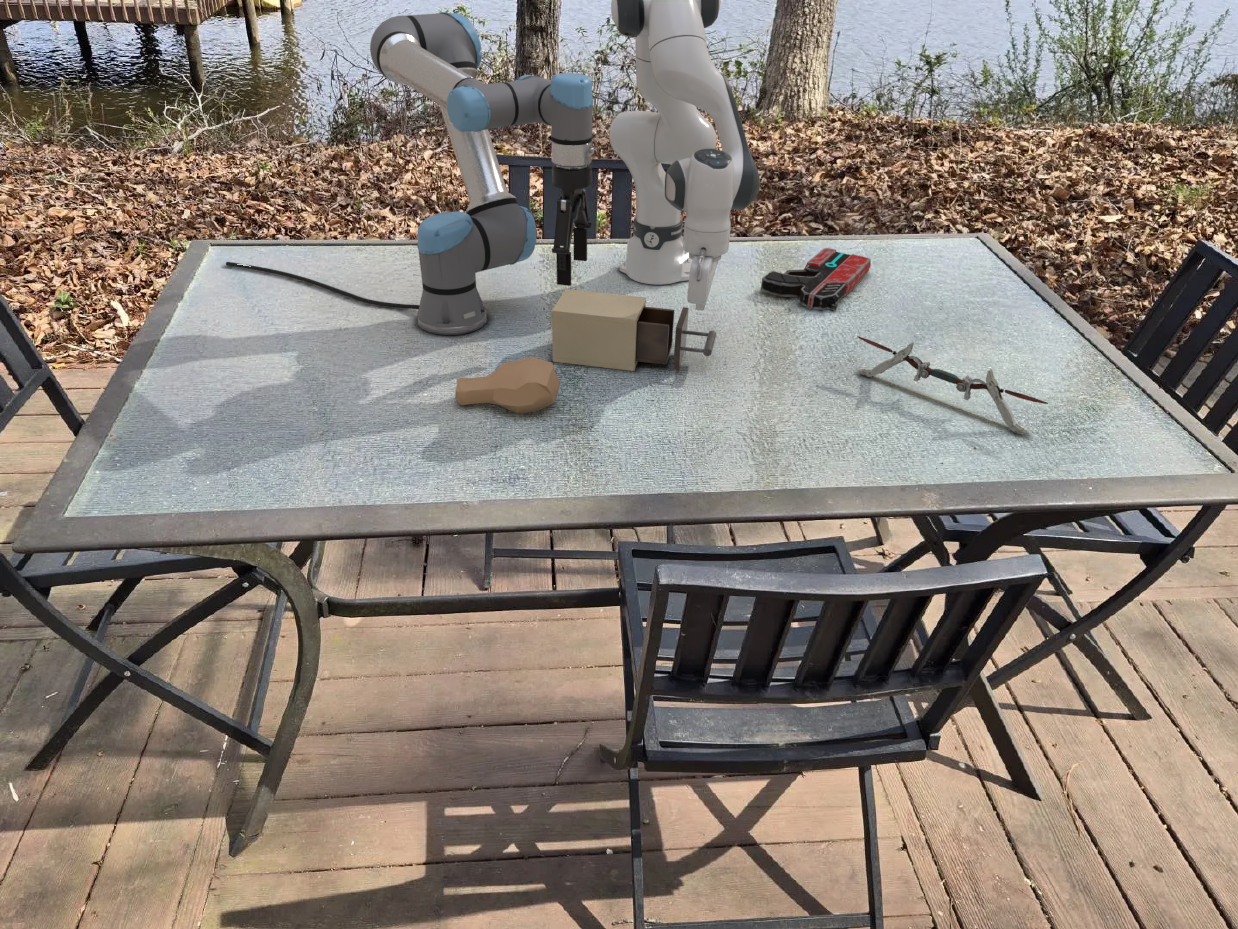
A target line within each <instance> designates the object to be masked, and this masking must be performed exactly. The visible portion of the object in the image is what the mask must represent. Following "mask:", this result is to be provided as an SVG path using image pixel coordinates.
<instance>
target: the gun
mask: <svg viewBox="0 0 1238 929" xmlns="http://www.w3.org/2000/svg"><path fill="white" fill-rule="evenodd" d="M871 260H872V259H871V258H869V257H867V256H862V255H859V254H858V255H857V254H853V253H852V254H849V253H845V252H840V251H837V249H835V248H831V247H823V248H822V249H821V250H820V251H818V253H817V254H815V255H814V256H813V257H811V258H810V259H809V260H808V261H807V262H806V264H805V267H804V269H787V270H786V271H784V273H782V272H779V271H776V270H771V271H770V272H768V273H767V274H765V275H764V276H762V277H761V285H760V291H762V292H763V293H766V294H771V295H774V296H777V297H785V298H786V297H787V298H790V297H791V298H799V299H798V302H799V303H800V304H801V306H805V307H806V308H807V309H815V310H818V311H819V310H826V309H829V310H833V311H836V310H837V309H838V304H837V303H838V302H839V301H840V300H841V299H842V298H843V297H846V296H847V295H848V294H849V293H851V291H853V290H854V289H855V288H856V287H857V286H858V284H859V283H860V282H861V281H862V280H863V278H865V276H866V275H867V274H868V273H869V271H870V269H871V266H872V261H871Z"/></svg>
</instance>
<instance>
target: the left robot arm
mask: <svg viewBox="0 0 1238 929" xmlns="http://www.w3.org/2000/svg"><path fill="white" fill-rule="evenodd" d="M369 44H370V45H369V52H370V57H371V60H372V63H373V65H374V67H375V68H376V70H377V71H378V72H379V73H380V74H381V75H382V76H384V77H385V78H386V79H387V80H389V81H391V82H392V83H395V84H398V85H406V86H408V87H410V88H411V89H413V90H415V91H416V92H418V93H419V94H421V95H423V96H425V97H426V98H428V99H429V100H431V101H432V102H434V103H436V104H437V105H439V108H440V111H441V114H442V118H443V121H444V124H445V127H446V131H447V134H448V137H449V140H450V143H451V147H452V149H453V153H454V156H455V158H456V162H457V166H458V168H459V172H460V176H461V178H462V181H463V185H464V188H465V191H466V194H467V197H468V201H469V204H468V206H467V208H466V210H465V212H464V211H457V210H455V211H454V210H453V211H443V212H438V213H436V214H432V215H429V216H427V217H426V218H424V220H422V221H421V222H420V224H419V225H418V227H417V230H416V231H417V232H416V233H417V243H416V246H417V247H416V248H417V250H418V258H419V259H418V260H419V267H420V275H421V276H420V278H421V284H422V292H421V297H420V302H419V304H409V303H408V304H406V303H397V302H396V303H395V302H387V301H379V300H374V299H369V298H367V297H366V298H365V297H362V296H359V295H357V294H355V293H350V292H348V291H345V290H343V289H339V288H337V287H334V286H331V285H329V284H326V283H323V282H320V281H317V280H313V279H311V278H307V277H305V276H301V275H298V274H293V273H290V272H287V271H281V270H277V269H273V268H267V267H262V266H258V265H257V266H256V265H251V264H248V265H249V266H251V267H249V266H243V265H237V264H240V263H239V262H238V263H237V262H232V261H226V262H225V265H226V266H229V267H234V268H239V269H240V268H241V269H245V270H246V269H247V270H251V271H258V272H264V273H269V274H274V275H278V276H281V277H282V276H283V277H287V278H290V279H295V280H297V281H301V282H305V283H308V284H311V285H314V286H316V287H319V288H322V289H325V290H328V291H331V292H333V293H337V294H339V295H341V296H345V297H347V298H351V299H353V300H356V301H357V302H362V303H365V304H369V305H373V306H378V307H379V306H380V307H385V308H396V309H406V310H408V309H409V310H417V315H416V318H417V325H418V326H419V328H420V329H421V330H423V331H424V332H427V333H430V334H433V335H440V336H459V335H465V334H469V333H473V332H476V331H477V330H480V329H481V328H483V327H484V326H485V325H486V323H487V320H488V316H487V310H486V306H485V304H484V302H483V299H482V298H481V295H480V293H479V291H478V288H477V278H476V277H477V276H476V274H477V273H479V272H485V271H488V270H491V269H497V268H501V267H505V266H509V265H510V266H512V265H515V264H517V263H520V262H523V261H526V260H527V259H529V258H530V257H531V256H532V255H533V253H534V251H535V249H536V244H537V237H538V236H537V225H536V221H535V218H534V216H533V214H532V213H531V212H530V210H529V209H528V208H527V207H524V206H521V205H520V206H519V202H518V200H517V197H516V196H515V195H514V194H511V193H510V192H509V191H508V190H507V186H506V183H505V180H504V176H503V173H502V170H501V168H500V163H499V161H498V158H497V154H496V151H495V147H494V144H493V141H492V137H491V134H490V131H489V130H493V129H498V128H505V127H512V126H518V125H520V126H521V125H526V124H532V123H542V124H545V125H548V126H550V130H551V132H550V133H551V162H552V163H553V165H552V166H551V183H552V185H553V186H554V187H555V188H557V189H560V190H561V191H562V193H561V196H560V197H559V198H557V200H556V217H555V218H556V219H555V229H554V237H553V238H554V239H553V246H552V247H553V248H551V253H552V254H556V285H557V286H567V287H568V286H569V287H571V286H572V251H571V245H572V238H573V261H580V262H587V261H588V229H591V228H592V222H590V221H591V216H590V210H589V208H590V207H589V201H588V193H587V189H588V188H589V187H591V186H592V184H593V166H592V165H591V163H592V161H593V159H592V158H593V154H594V153H595V152H596V149H595V147H594V146H592V144H593V112H594V111H593V110H594V108H593V107H594V97H593V83H592V79H591V78H590V77H589V76H588V75H585V74H583V73H575V72H563V73H556V74H554V75H553V76H552V77H551V79H547V78H545V77H542V76H540V75H537V74H536V75H531V74H524V75H521V76H520V77H519V78H517V79H515V80H511V81H501V82H494V83H484V82H482V81H480V80H478V79H477V77H478V75H479V71H478V68H479V67H480V65H481V64H482V58H483V54H482V53H481V51H482V43H481V39H480V36H479V33H478V32H477V29H476V28H475V25H474V24H473V23H472V22H471V21H470V19H469V18H468V17H466V16H464V15H463V14H461V13H457V12H447V11H441V12H438V13H424V14H423V13H422V14H409V15H396V16H393V17H389V18H387V19H386V20H383V21H382V22H381V23H380V24H379V25H378V26H377V27H376V28H375V30H374V32H373V34H372V35H371V40H370V43H369Z"/></svg>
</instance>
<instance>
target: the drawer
mask: <svg viewBox="0 0 1238 929" xmlns="http://www.w3.org/2000/svg"><path fill="white" fill-rule="evenodd" d="M689 309H690V308H689V307H685V306H682V309H681V311H680V314H679V318H678V320H677V323H676V326H674V325H675V312H676V311H675V309H672V308H663V307H651V306H646V307H643V310H642V312H641V314H640V317H639V319H638V321H637V334H636V359H635V361H638V363H639V362H640V363H647V364H658V365H667V363H668V360H669V357H670V354H671V351H672V349H673V340H674V351H673V364H672V365H673V366H672V370H673V371H679V370H680V367H681V365H682V361H683V358H684V355H685V352H693V353H701V354H703V355H704V356H705V357H710V356H712V354H713V350H714V346H715V343H716V338H717V332H716V331H715V330H708V332H703V331H696V330H695V331H694V330H688V322H689ZM674 327H675V333H674ZM674 334H675V336H674ZM687 335H690V336H698V337H700V336H701V337H706V340H705V344H704V347H703V348H696V347H687V337H688V336H687ZM674 337H675V338H674Z"/></svg>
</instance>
